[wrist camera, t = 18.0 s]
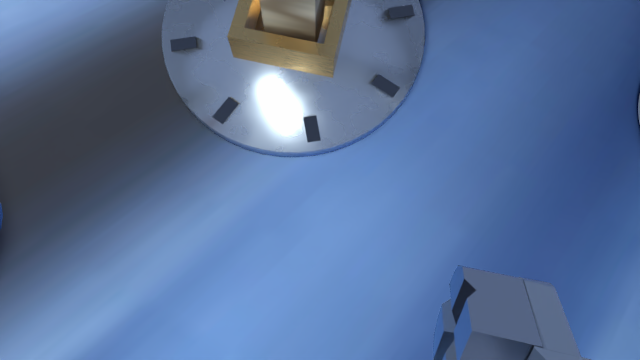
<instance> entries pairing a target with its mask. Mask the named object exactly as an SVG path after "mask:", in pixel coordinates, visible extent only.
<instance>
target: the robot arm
mask: <svg viewBox="0 0 640 360" xmlns="http://www.w3.org/2000/svg"><path fill="white" fill-rule="evenodd" d="M638 114H639V123H640V95H639V103H638ZM2 217H3V213H2V206H1V203H0V229H1V224H2ZM449 286H450V297H451V299H449V300H448V301H446V302H445V303H443V304H442V305H441V308H440V311H439V314H438V317H437V321H436V326H435V331H434V338H433V360H591V359H587V358H583V357H581V355H580V352H579V350H578V347H577V344H576V342H575V339H574V336H573V334H572V331H571V329H570V326H569V323H568V321H567V318H566V316H565V313H564V310H563V308H562V305H561V303H560V300H559V297H558V295H557V292H556V290H555V287H554V286H553V285H551V284H550V283H547V282H542V281H537V280H531V279H526V278H521V277H519V278H518V277H513V276H508V275H503V274H499V273H494V272H489V271H484V270H479V269H475V268H470V267H465V266H460V265H458V266H457V268H456V269H455V271H454V273H453V276H452V278H451V281H450V284H449Z"/></svg>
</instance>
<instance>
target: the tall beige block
mask: <svg viewBox="0 0 640 360" xmlns="http://www.w3.org/2000/svg"><path fill="white" fill-rule="evenodd" d="M259 1H260V7H261V12H262V18H263V24H264V30H265V32H268V33H272V34H277V35H282V36H287V37H292V38H297V39H302V40H307V41H312V42H318V38H319V35H320V31H321V27H322V23H323V19H324V9H325V0H259Z"/></svg>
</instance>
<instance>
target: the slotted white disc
mask: <svg viewBox="0 0 640 360" xmlns="http://www.w3.org/2000/svg"><path fill="white" fill-rule="evenodd" d="M424 43H425V27H424V19H423V14H422V9H421V6H420V3H419V0H325V9H324V19H323V23H322V27H321V31H320V35H319V38H318V42H312V41H307V40H302V39H297V38H292V37H287V36H282V35H277V34H272V33H268V32H265V30H264V24H263V18H262V12H261V7H260V1H259V0H169V1H168V3H167V7H166V10H165V14H164V18H163V26H162V49H163V55H164V60H165V64H166V67H167V70H168V73H169V76H170V79H171V81H172V83H173V85H174V87H175V88H176V90H177V92H178V94H179V96H180V98H181V99H182V101H183V102H184V103H185V105H186V106H187V108H188V109H189V110H190V112H191V113H192V114H193V115H194V116H195V117H196V118H197V119H198V120H199V121H200V122H201V123H202V124H203V125H204V126H206V127H207V128H208V129H209V130H211V131H212V132H213V133H214V134H216V135H218V136H219V137H221V138H223V139H224V140H226V141H228V142H230V143H232V144H234V145H237V146H239V147H241V148H244V149H246V150H250V151H253V152H257V153H260V154H265V155H271V156H278V157H306V156H316V155H320V154H325V153H329V152H333V151H336V150H339V149H342V148H344V147H347V146H350V145H352V144H354V143H356V142H358V141H360V140H361V139H363V138H365V137H367V136H368V135H370V134H371V133H373V132H374V131H375V130H377V129H378V128H380V127H381V126H382V125H383V124H384V123H385V122H386V121H387V120H388V119H389V118H391V117H392V115H393V114H394V113H395V112H396V111H397V109H398V108H399V107H400V106H401V105H402V103H403V101H404V100H405V98H406V97H407V95H408V93H409V92H410V90H411V88H412V85H413V83H414V81H415V78H416V76H417V73H418V71H419V68H420V64H421V60H422V57H423V51H424Z"/></svg>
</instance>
